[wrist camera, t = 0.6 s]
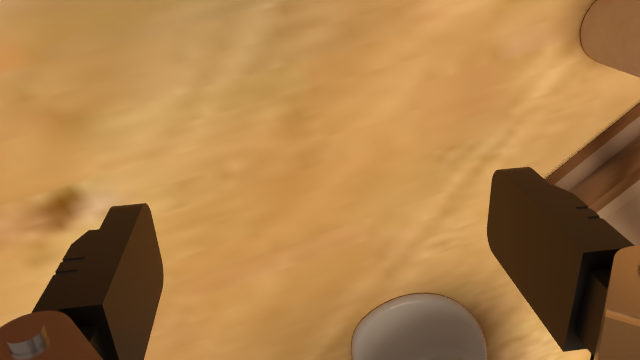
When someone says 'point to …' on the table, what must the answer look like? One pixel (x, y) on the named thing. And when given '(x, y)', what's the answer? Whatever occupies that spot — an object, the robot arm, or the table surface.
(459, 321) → the mannequin bust
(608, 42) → the candle
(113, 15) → the table surface
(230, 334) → the table surface
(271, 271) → the table surface
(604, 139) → the display pedestal
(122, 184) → the table surface
